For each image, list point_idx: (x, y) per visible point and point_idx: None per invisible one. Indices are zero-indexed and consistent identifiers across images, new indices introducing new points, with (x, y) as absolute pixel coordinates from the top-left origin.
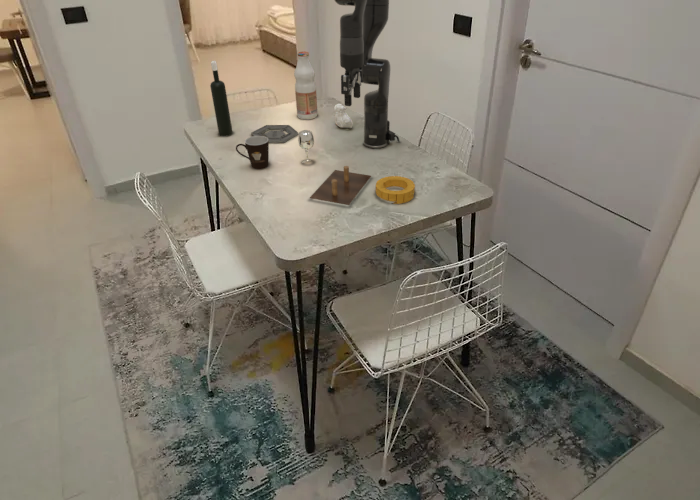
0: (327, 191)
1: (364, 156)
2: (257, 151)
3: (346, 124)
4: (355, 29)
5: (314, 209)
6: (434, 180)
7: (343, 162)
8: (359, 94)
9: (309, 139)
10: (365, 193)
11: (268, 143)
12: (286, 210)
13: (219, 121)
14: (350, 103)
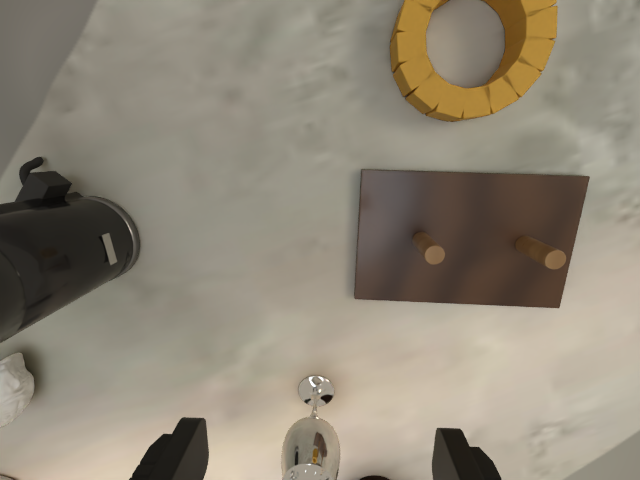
0: (507, 272)
1: (208, 244)
2: None
3: (22, 375)
4: None
5: (605, 272)
6: None
7: (277, 294)
8: (190, 443)
9: (327, 448)
10: (474, 154)
11: None
12: (620, 342)
13: None
14: (467, 449)
